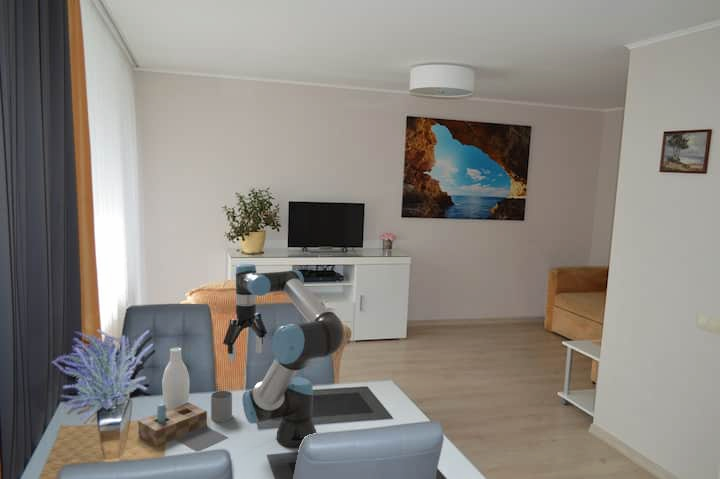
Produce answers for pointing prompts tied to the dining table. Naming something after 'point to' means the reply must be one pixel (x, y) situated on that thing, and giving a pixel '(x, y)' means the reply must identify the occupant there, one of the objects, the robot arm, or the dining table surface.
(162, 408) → the peg
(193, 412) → the block
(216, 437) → the mat
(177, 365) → the bottle
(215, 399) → the cup
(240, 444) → the dining table surface
